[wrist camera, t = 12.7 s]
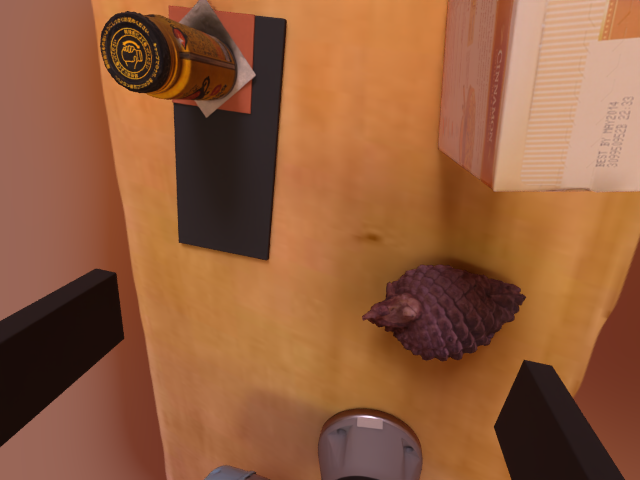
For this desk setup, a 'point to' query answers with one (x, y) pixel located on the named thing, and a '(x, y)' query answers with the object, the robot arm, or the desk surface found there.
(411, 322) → the pine cone
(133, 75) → the condiment
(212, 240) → the desk mat
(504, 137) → the coffeecake box
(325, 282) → the desk surface
